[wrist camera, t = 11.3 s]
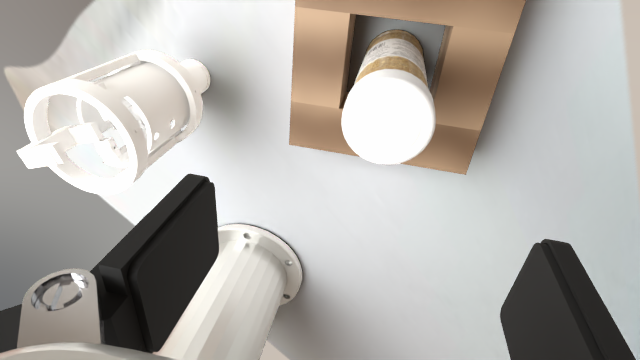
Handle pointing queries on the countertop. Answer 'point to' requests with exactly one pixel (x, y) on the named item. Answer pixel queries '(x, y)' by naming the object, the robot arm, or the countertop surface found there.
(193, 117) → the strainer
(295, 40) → the walnut socket block
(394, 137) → the sprinkles bottle
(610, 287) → the countertop surface
